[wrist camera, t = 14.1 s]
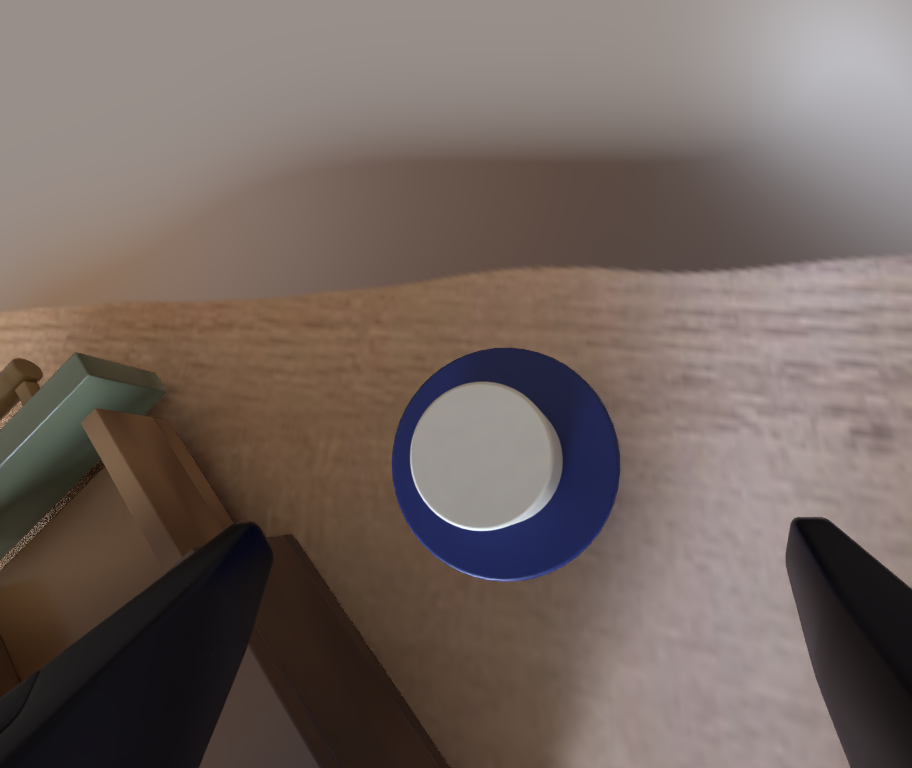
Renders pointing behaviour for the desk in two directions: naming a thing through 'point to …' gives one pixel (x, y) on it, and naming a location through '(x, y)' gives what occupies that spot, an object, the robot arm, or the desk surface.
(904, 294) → the desk surface
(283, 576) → the cabinet
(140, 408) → the drawer
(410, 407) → the glue bottle
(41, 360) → the desk surface
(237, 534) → the robot arm
